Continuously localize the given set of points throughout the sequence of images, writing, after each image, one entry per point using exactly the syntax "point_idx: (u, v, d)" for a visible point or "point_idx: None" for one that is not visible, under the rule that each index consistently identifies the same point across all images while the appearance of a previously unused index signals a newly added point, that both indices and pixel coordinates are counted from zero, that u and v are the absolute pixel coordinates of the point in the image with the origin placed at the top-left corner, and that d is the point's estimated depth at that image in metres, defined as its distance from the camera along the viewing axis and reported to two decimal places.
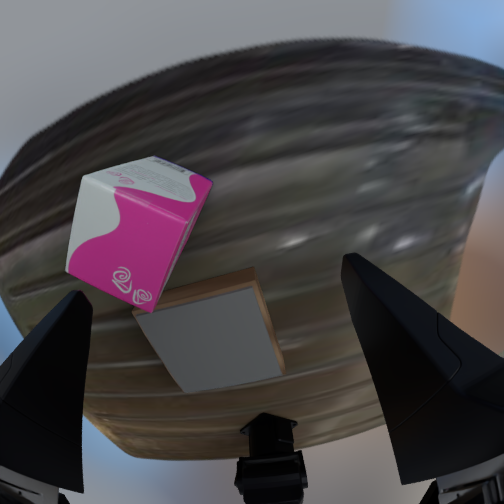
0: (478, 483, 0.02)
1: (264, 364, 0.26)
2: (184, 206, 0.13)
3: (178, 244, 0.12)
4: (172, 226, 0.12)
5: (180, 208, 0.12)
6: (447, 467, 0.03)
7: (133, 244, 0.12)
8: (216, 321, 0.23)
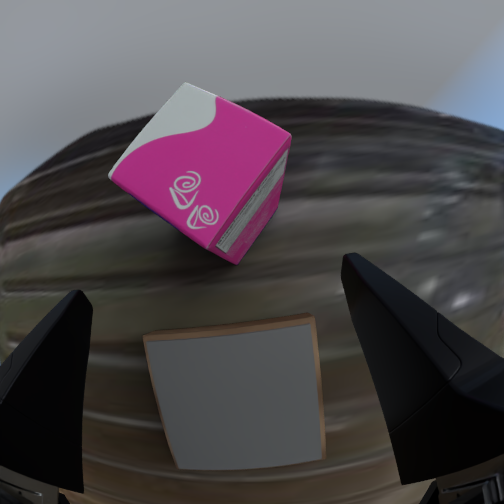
0: (479, 482, 0.02)
1: (302, 440, 0.16)
2: None
3: (275, 157, 0.10)
4: (274, 134, 0.10)
5: None
6: (447, 467, 0.03)
7: (220, 146, 0.10)
8: (254, 367, 0.17)
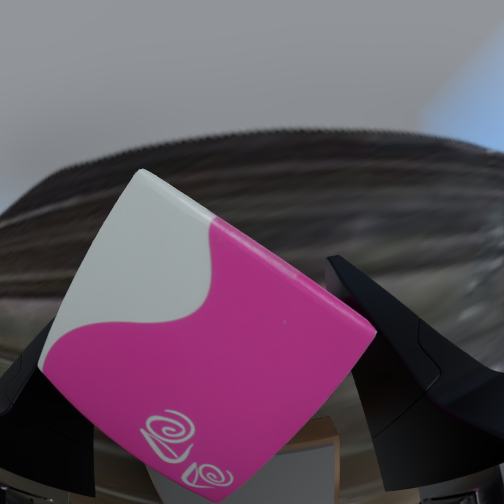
0: (458, 496, 0.02)
1: None
2: None
3: (340, 382, 0.05)
4: (346, 338, 0.04)
5: None
6: (426, 478, 0.03)
7: (227, 368, 0.04)
8: (268, 483, 0.12)
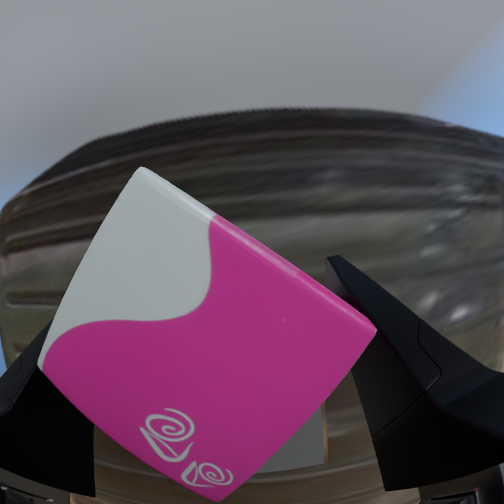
0: (458, 496, 0.02)
1: (306, 447, 0.17)
2: None
3: (340, 380, 0.05)
4: (346, 336, 0.04)
5: None
6: (426, 478, 0.03)
7: (227, 366, 0.04)
8: None
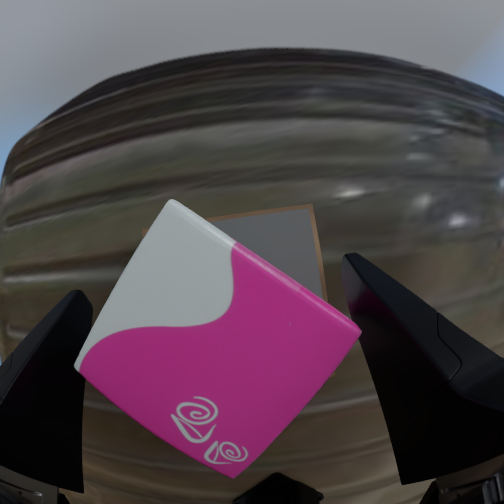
0: (479, 482, 0.02)
1: None
2: None
3: (333, 371, 0.06)
4: (337, 336, 0.06)
5: None
6: (447, 467, 0.03)
7: (245, 361, 0.06)
8: None
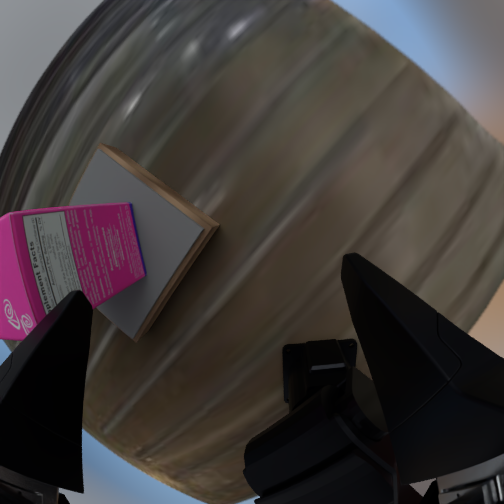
0: (478, 482, 0.02)
1: (167, 225, 0.19)
2: None
3: (16, 241, 0.08)
4: (4, 226, 0.07)
5: None
6: (447, 467, 0.03)
7: None
8: None
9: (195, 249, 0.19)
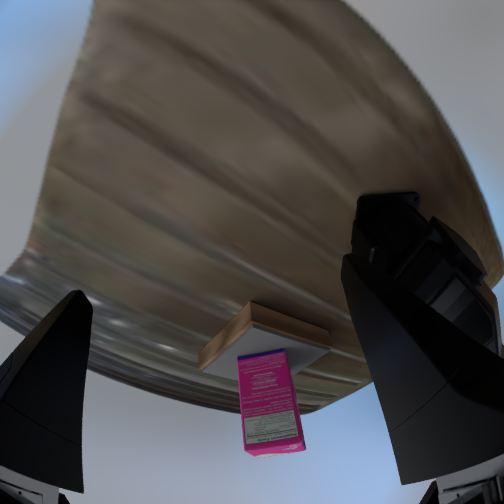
0: (479, 482, 0.02)
1: (251, 341, 0.28)
2: None
3: (256, 448, 0.20)
4: (250, 451, 0.21)
5: None
6: (447, 467, 0.03)
7: (269, 451, 0.21)
8: None
9: (267, 326, 0.27)
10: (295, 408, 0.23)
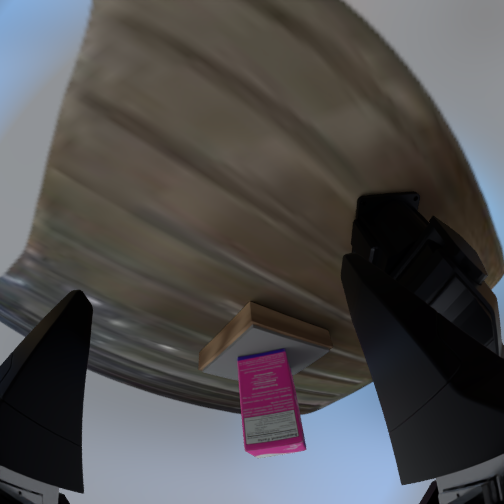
0: (479, 482, 0.02)
1: (251, 342, 0.28)
2: None
3: (257, 448, 0.20)
4: (250, 451, 0.21)
5: None
6: (447, 467, 0.03)
7: (269, 451, 0.21)
8: None
9: (267, 326, 0.27)
10: (295, 408, 0.23)
